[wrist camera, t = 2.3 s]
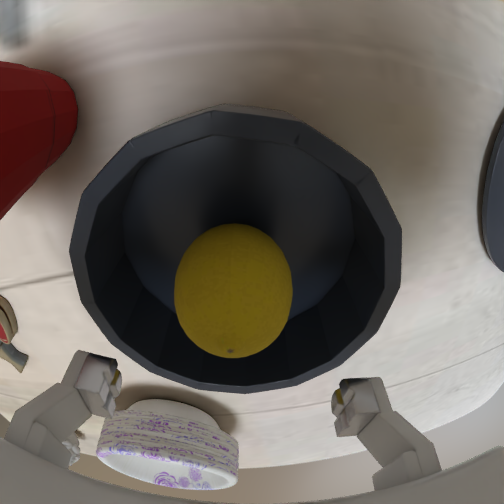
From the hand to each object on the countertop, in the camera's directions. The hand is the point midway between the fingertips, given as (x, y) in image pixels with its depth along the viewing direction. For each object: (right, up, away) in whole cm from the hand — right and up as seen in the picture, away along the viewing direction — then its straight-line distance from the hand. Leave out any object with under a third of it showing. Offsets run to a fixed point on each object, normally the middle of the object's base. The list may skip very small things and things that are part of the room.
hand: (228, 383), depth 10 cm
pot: (0, +5, +8) cm, 10 cm away
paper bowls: (-8, -15, +20) cm, 26 cm away
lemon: (0, +5, +8) cm, 10 cm away
